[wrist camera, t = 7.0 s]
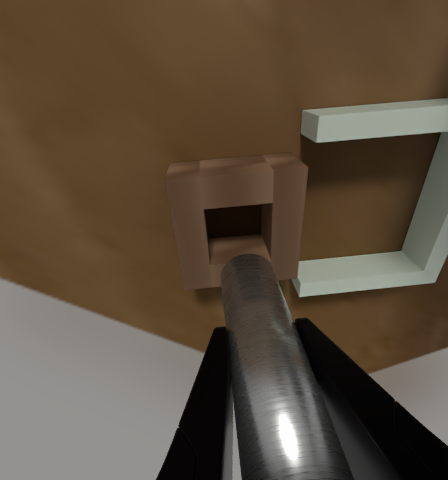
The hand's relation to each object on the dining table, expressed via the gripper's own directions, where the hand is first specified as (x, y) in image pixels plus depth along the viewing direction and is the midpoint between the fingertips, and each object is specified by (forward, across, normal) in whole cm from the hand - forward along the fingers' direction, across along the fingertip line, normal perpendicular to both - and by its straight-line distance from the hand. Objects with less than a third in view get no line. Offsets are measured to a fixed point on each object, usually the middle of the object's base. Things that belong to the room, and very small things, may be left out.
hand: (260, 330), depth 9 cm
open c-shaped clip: (+9, -8, 0) cm, 12 cm away
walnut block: (+9, 0, 0) cm, 9 cm away
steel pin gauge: (+3, 0, 0) cm, 3 cm away
